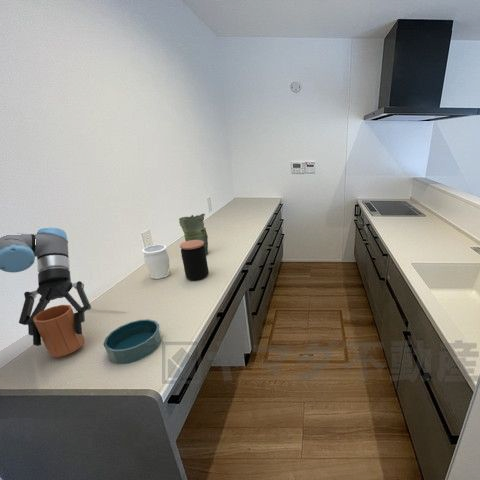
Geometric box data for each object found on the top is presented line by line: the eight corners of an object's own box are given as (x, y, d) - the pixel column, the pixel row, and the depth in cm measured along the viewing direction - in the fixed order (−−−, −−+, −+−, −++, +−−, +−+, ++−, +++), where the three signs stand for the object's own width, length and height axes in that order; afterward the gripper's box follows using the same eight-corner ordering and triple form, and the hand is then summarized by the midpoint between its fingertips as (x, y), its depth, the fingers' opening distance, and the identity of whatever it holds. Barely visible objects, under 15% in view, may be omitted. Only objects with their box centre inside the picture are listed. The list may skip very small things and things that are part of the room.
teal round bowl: (116, 373, 78) (111, 359, 76) (103, 348, 87) (98, 335, 85) (169, 345, 89) (166, 332, 87) (152, 326, 98) (149, 313, 96)
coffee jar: (199, 269, 140) (193, 238, 134) (213, 274, 136) (208, 241, 130) (181, 278, 131) (174, 245, 125) (196, 283, 127) (190, 249, 121)
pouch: (184, 258, 153) (176, 217, 144) (195, 250, 164) (188, 211, 155) (202, 259, 152) (195, 218, 143) (212, 251, 163) (206, 212, 154)
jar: (144, 276, 133) (137, 249, 128) (165, 268, 141) (160, 242, 136) (155, 282, 127) (148, 254, 122) (176, 274, 135) (170, 247, 130)
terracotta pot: (51, 361, 79) (35, 326, 75) (47, 347, 85) (31, 313, 80) (87, 346, 85) (73, 312, 81) (81, 333, 91) (68, 301, 86)
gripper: (98, 268, 96) (106, 328, 89) (14, 283, 85) (15, 353, 78) (92, 260, 90) (99, 324, 83) (0, 276, 79) (0, 351, 72)
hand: (58, 338), depth 80 cm, fingers closed on terracotta pot, 9 cm apart
